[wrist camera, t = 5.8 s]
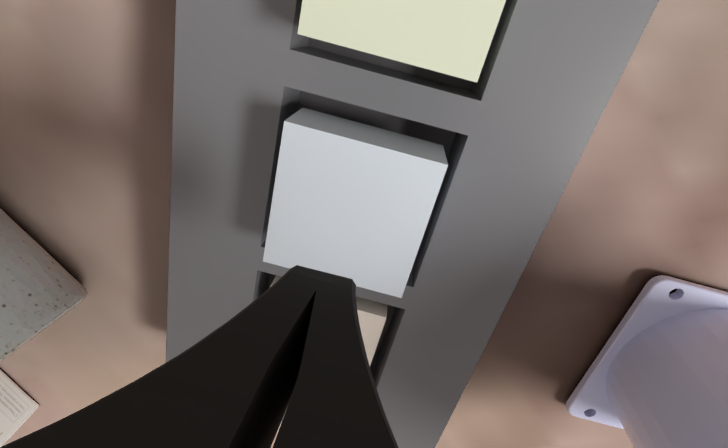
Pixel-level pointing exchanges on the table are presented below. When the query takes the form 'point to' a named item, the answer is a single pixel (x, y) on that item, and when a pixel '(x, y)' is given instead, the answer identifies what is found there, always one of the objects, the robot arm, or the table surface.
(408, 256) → the key bluegrey
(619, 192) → the table surface
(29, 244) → the ceramic mug
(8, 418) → the supplement box
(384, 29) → the key sage
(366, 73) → the keypad
